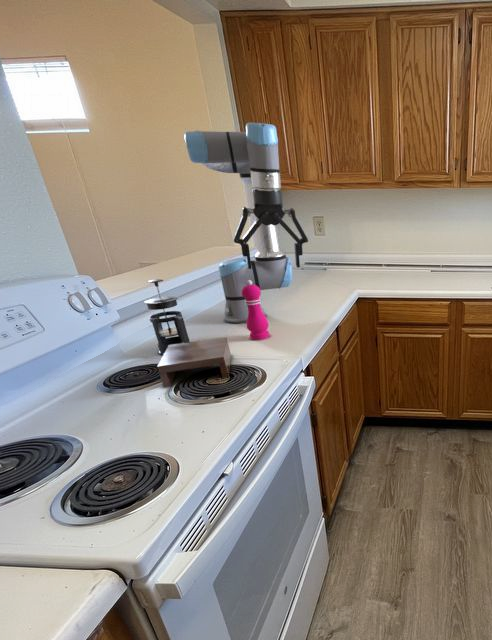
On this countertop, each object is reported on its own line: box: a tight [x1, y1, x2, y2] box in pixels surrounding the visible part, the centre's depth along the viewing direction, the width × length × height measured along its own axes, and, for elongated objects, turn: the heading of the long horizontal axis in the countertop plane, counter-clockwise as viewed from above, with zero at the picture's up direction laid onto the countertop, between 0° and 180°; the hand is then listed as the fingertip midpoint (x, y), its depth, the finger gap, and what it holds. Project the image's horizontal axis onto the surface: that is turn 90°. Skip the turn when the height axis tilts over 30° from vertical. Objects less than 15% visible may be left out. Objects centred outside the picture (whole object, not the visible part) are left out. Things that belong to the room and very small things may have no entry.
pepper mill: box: [242, 280, 270, 341], centre depth 142 cm, size 7×7×20 cm
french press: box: [144, 278, 190, 356], centre depth 132 cm, size 12×9×23 cm
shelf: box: [156, 337, 232, 388], centre depth 119 cm, size 18×16×6 cm
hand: (274, 267), depth 123 cm, fingers open, 13 cm apart
